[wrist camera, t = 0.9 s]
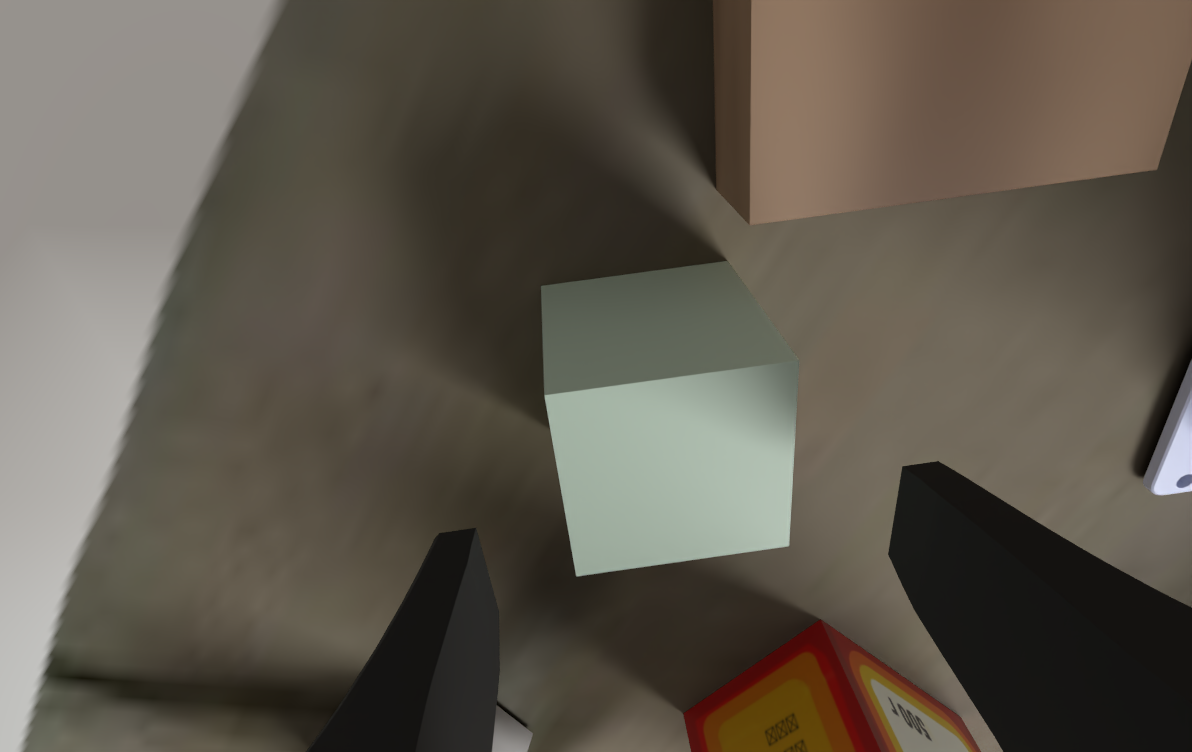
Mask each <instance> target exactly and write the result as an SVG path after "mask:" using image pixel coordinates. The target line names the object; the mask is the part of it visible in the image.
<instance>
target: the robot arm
mask: <svg viewBox="0 0 1192 752" xmlns="http://www.w3.org/2000/svg"><path fill="white" fill-rule="evenodd" d="M1143 484H1144V486H1145V487H1146V488H1147V489H1148V490H1150V491H1151V492H1152V493H1154V494H1156V495H1167V494H1174V493H1181V492H1188V491H1192V360H1191V362H1190V364H1189V367H1188V369H1187V372H1186V374H1185V377H1184V379H1183V382H1182V384H1181V387H1180V389H1179V392H1178V394H1177V397H1176V399H1175V402H1174V404H1173V407H1172V409H1171V412H1170V414H1169V417H1168V419H1167V422H1166V424H1165V426H1164V429H1163V431H1162V434H1161V436H1160V439H1159V441H1158V444H1157V446H1156V449H1155V451H1154V454H1153V456H1152V459H1151V461H1150V464H1149V466H1148V469H1147V471H1146V474H1145V476H1144V480H1143ZM888 555H889V557H890V559H891V561H892V564H893V566H894V568H895V570H896V572H897V575H898V577H899V579H900V581H901V583H902V586H903V588H904V590H905V592H906V594H907V596H908V598H909V600H910V602H911V604H912V606H913V608H914V610H915V612H916V613H917V615H918V617H919V618H920V620H921V621H922V623H923V625H924V626H925V628H926V629H927V631H928V633H929V634H930V636H931V637H932V639H933V641H934V642H935V644H936V645H937V647H938V649H939V650H940V652H941V653H942V655H943V657H944V658H945V660H946V661H947V663H948V664H949V666H950V667H951V669H952V671H953V672H954V674H955V675H956V677H957V678H958V680H959V682H960V683H961V685H962V686H963V688H964V689H965V691H966V692H967V694H968V696H969V697H970V699H971V700H972V702H973V703H974V705H975V707H976V708H977V710H978V711H979V713H980V714H981V716H982V718H983V719H984V721H985V722H986V724H987V725H988V727H989V729H990V730H991V732H992V733H993V735H994V736H995V738H996V740H997V741H998V743H999V745H1000V747H1001V748H1002V750H1003V752H1192V608H1191V607H1189V606H1187V605H1185V604H1183V603H1181V602H1179V601H1177V600H1175V599H1173V598H1171V597H1169V596H1167V595H1165V594H1163V593H1161V592H1159V591H1158V590H1156V589H1154V588H1152V587H1150V586H1148V585H1146V584H1144V583H1143V582H1141V581H1139V580H1137V579H1135V578H1134V577H1132V576H1130V575H1128V574H1126V573H1124V572H1123V571H1121V570H1119V569H1117V568H1115V567H1113V566H1112V565H1110V564H1108V563H1106V562H1104V561H1102V560H1101V559H1099V558H1097V557H1096V556H1094V555H1092V554H1090V553H1089V552H1087V551H1085V550H1083V549H1082V548H1080V547H1078V546H1076V545H1075V544H1073V543H1071V542H1070V541H1068V540H1066V539H1065V538H1063V537H1061V536H1060V535H1058V534H1056V533H1055V532H1053V531H1051V530H1050V529H1048V528H1046V527H1045V526H1043V525H1041V524H1040V523H1038V522H1036V521H1035V520H1033V519H1032V518H1030V517H1028V516H1027V515H1025V514H1023V513H1022V512H1020V511H1019V510H1017V509H1015V508H1014V507H1012V506H1011V505H1009V504H1007V503H1006V502H1004V501H1003V500H1001V499H999V498H998V497H996V496H995V495H993V494H991V493H990V492H988V491H987V490H985V489H983V488H982V487H980V486H979V485H977V484H975V483H974V482H972V481H971V480H969V479H967V478H966V477H964V476H962V475H961V474H959V473H957V472H956V471H954V470H952V469H951V468H949V467H947V466H946V465H944V464H942V463H940V462H939V461H937V462H930V463H923V464H916V465H909V466H903V467H902V473H901V479H900V485H899V491H898V497H897V504H896V510H895V516H894V522H893V528H892V534H891V540H890V547H889V553H888ZM499 672H500V661H499V610H498V607H497V603H496V599H495V596H494V592H493V588H492V585H491V581H490V577H489V574H488V570H487V566H486V563H485V559H484V555H483V552H482V548H481V544H480V541H479V537H478V533H477V530H476V528H472V529H465V530H458V531H452V532H445V533H439V535H438V536H437V537H436V538H435V539H434V541H433V543H432V545H431V547H430V549H429V551H428V554H427V556H426V558H425V560H424V562H423V564H422V566H421V568H420V570H419V572H418V573H417V575H416V577H415V579H414V581H413V583H412V585H411V587H410V589H409V591H408V592H407V594H406V596H405V598H404V600H403V602H402V604H401V605H400V607H399V609H398V611H397V612H396V614H395V616H394V618H393V619H392V621H391V623H390V625H389V626H388V628H387V630H386V632H385V633H384V635H383V637H382V638H381V640H380V642H379V644H378V645H377V647H376V649H375V650H374V652H373V654H372V655H371V657H370V658H369V660H368V661H367V663H366V665H365V666H364V668H363V669H362V671H361V672H360V674H359V676H358V677H357V679H356V680H355V682H354V683H353V685H352V686H351V688H350V690H349V691H348V693H347V694H346V696H345V697H344V699H343V700H342V702H341V703H340V705H339V706H338V708H337V709H336V711H335V712H334V714H333V715H332V716H331V718H330V719H329V721H328V722H327V724H326V725H325V726H324V728H323V729H322V731H321V732H320V733H319V735H318V736H317V738H316V739H315V740H314V742H313V743H312V744H311V746H310V747H309V748H308V750H307V751H306V752H492V746H493V736H494V726H495V715H496V705H497V694H498V683H499Z"/></svg>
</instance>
